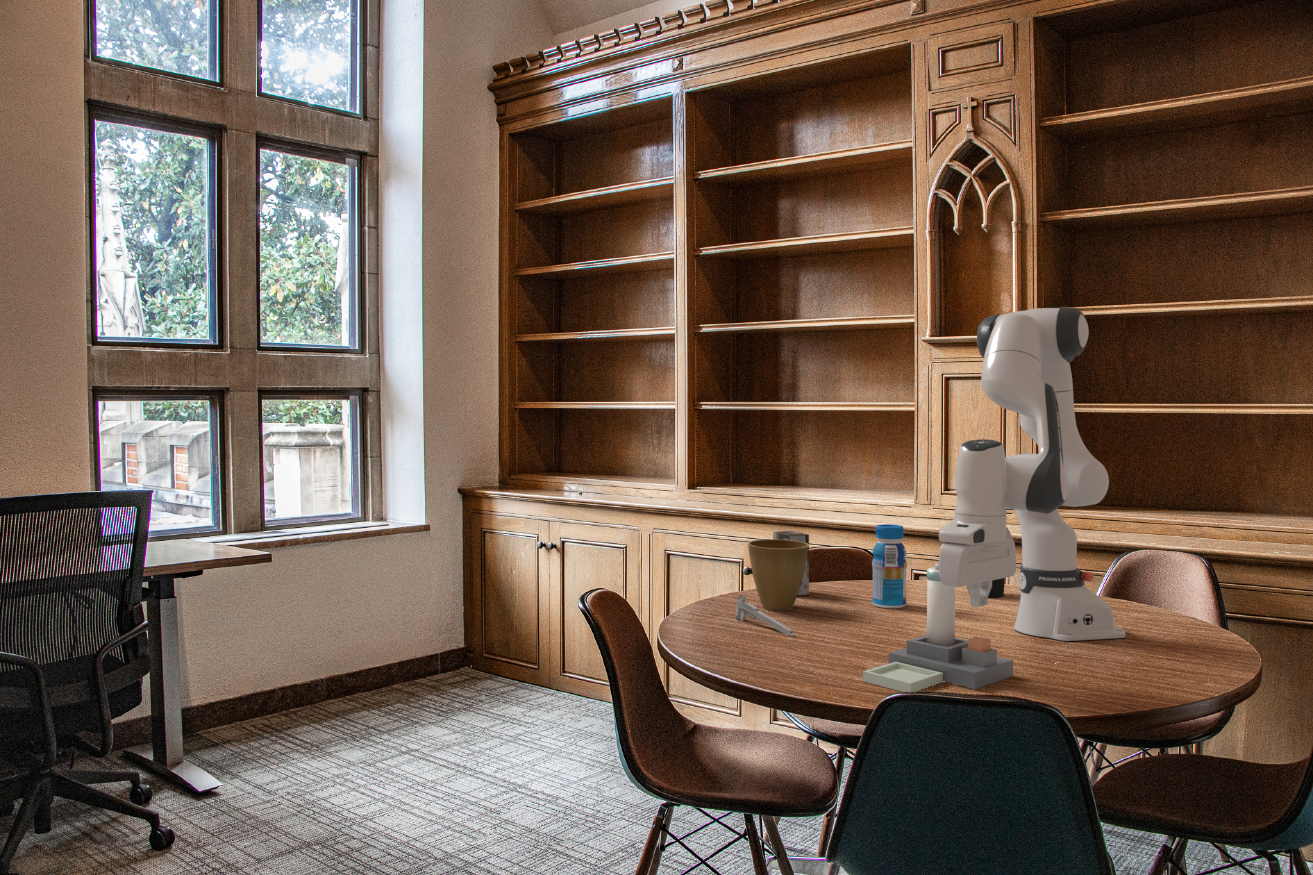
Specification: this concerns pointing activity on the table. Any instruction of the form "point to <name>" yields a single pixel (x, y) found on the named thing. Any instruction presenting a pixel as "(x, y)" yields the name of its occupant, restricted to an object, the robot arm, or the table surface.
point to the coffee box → (805, 538)
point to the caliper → (758, 616)
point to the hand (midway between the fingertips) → (979, 605)
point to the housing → (955, 662)
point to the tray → (902, 677)
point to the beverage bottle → (889, 567)
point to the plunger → (979, 644)
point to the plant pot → (778, 571)
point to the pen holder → (997, 588)
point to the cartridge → (940, 610)
